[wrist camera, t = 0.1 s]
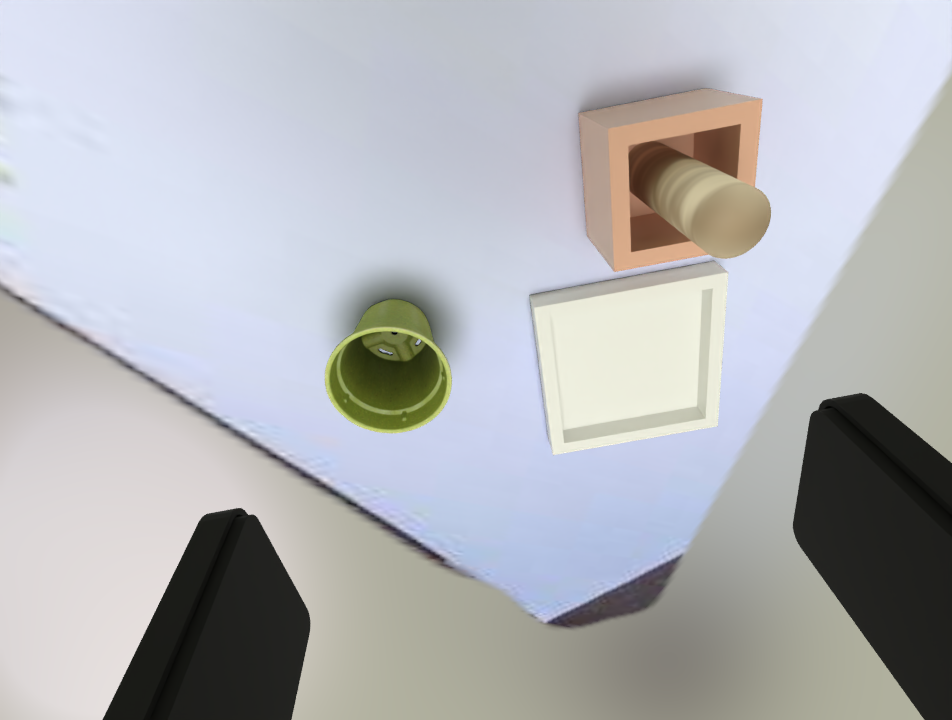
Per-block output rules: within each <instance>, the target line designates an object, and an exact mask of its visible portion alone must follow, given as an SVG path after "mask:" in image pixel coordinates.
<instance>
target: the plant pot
mask: <svg viewBox="0 0 952 720" xmlns="http://www.w3.org/2000/svg"><path fill="white" fill-rule="evenodd" d="M392 332H397V334H396V335H394V334H392ZM418 339H420V340H422V341H421V343H420V344H419V345H418V346H415V343H416V342H417V340H418ZM380 348H381V349H383V350H385V351H388V352H392V353H393V354H392V355H387V354H383V353H381V352H379V350H378V349H380ZM325 386H326V391H327V394H328V396H329V399H330V400H331V402H332V404H333V405H334V407H335V408H336V409H337V410H338V412H340V413H341V414H342V415H343V416H344V417H345V418H346V419H348V420H349V421H350V422H352V423H354V424H355V425H357V426H359V427H362V428H364V429H368V430H371V431H375V432H382V433H401V432H406V431H411V430H414V429H417V428H419V427H421V426H423V425H425V424H427V423H428V422H430V421H431V420H433V419H434V418H435V417H436V416H437V415H438V414H439V413H440V412H441V411H442V409H443V408H444V406H445V405H446V403H447V401H448V398H449V396H450V392H451V386H452V376H451V370H450V366H449V363H448V361H447V359H446V357H445V355H444V354H443V352H442V351H441V349H440V348H439V347H438V346H437V345H436V344H435V343H434V340H433V337H432V333H431V329H430V326H429V323H428V320H427V318H426V317H425V315H424V314H423V312H422V311H421V310H420V309H419V308H418V307H416V306H415V305H413V304H411V303H409V302H407V301H403V300H398V299H389V300H386V301H383V302H380V303H377V304H375V305H373V306H371V307H370V308H369V309H368V310H367V311H366V312H365V313H364V315H363V317H362V319H361V320H360V322H359V324H358V325H357V327H356V329H355V330H354V332H353V334H351V335H350V336H348V337H347V338H345V339H344V340H343V341H342V342H341V343H340V344H339V345H338V346H337V347H336V348H335V349H334V351H333V352H332V354H331V356H330V358H329V360H328V363H327V366H326V370H325Z"/></svg>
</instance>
